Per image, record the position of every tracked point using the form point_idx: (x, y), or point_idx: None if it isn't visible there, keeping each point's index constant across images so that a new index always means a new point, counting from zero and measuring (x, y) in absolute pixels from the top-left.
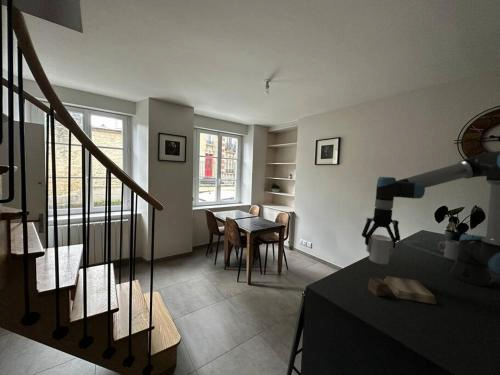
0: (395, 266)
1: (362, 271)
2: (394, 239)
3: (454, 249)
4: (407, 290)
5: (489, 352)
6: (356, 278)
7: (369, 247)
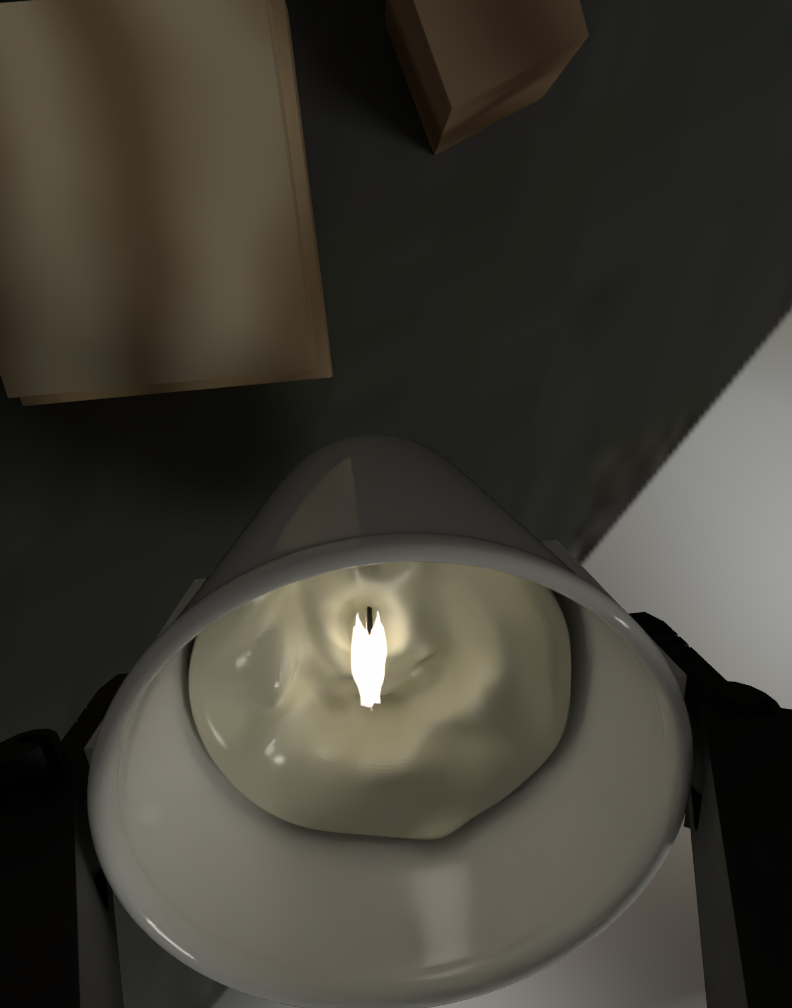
0: None
1: None
2: (22, 822)
3: None
4: (163, 39)
5: None
6: (590, 315)
7: None
